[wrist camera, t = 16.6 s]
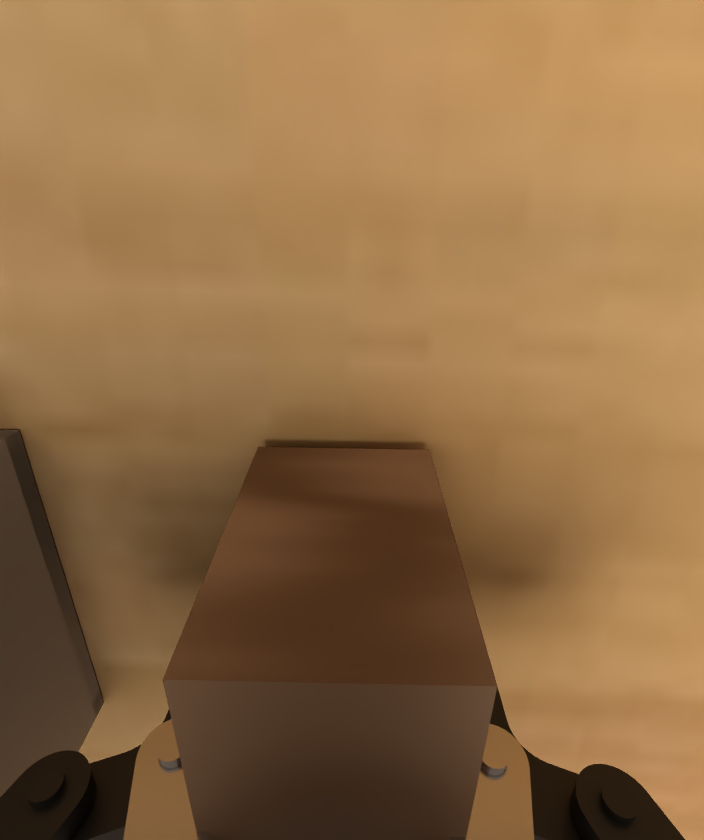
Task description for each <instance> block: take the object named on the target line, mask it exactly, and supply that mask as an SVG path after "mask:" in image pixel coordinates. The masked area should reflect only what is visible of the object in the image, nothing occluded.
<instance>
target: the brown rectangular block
mask: <svg viewBox="0 0 704 840" xmlns="http://www.w3.org/2000/svg"><path fill="white" fill-rule="evenodd" d="M163 683H164V688H165V692H166V697H167V701H168V706H169V710H170V715H171V719H172V724H173V728H174V733H175V737H176V742H177V746H178V751H179V755H180V760H181V764H182V769H183V774H184V778H185V783H186V787H187V792H188V796H189V801H190V805H191V810H192V814H193V819H194V823H195V828H196V831H208V833H209V838H210V840H450V837H466V836H467V831H468V827H469V822H470V817H471V812H472V807H473V802H474V797H475V793H476V788H477V783H478V778H479V773H480V768H481V763H482V759H483V754H484V749H485V744H486V739H487V734H488V729H489V725H490V720H491V715H492V710H493V705H494V700H495V695H496V691H497V684H496V680H495V677H494V673H493V670H492V666H491V663H490V659H489V656H488V652H487V649H486V645H485V642H484V638H483V635H482V632H481V628H480V625H479V621H478V618H477V614H476V611H475V607H474V604H473V600H472V597H471V593H470V590H469V586H468V583H467V579H466V576H465V573H464V569H463V566H462V562H461V559H460V555H459V552H458V548H457V545H456V541H455V538H454V534H453V531H452V527H451V524H450V520H449V517H448V513H447V510H446V507H445V503H444V500H443V496H442V493H441V489H440V486H439V482H438V479H437V475H436V472H435V468H434V465H433V461H432V458H431V454H430V451H429V450H411V449H354V448H297V447H258V449H257V452H256V454H255V457H254V459H253V462H252V464H251V466H250V469H249V471H248V474H247V476H246V479H245V481H244V484H243V486H242V488H241V491H240V493H239V496H238V498H237V501H236V503H235V505H234V508H233V510H232V513H231V515H230V518H229V520H228V522H227V525H226V527H225V530H224V532H223V535H222V537H221V539H220V542H219V544H218V547H217V549H216V552H215V554H214V556H213V559H212V561H211V564H210V566H209V569H208V571H207V573H206V576H205V578H204V581H203V583H202V586H201V588H200V590H199V593H198V595H197V598H196V600H195V603H194V605H193V607H192V610H191V612H190V615H189V617H188V620H187V622H186V624H185V627H184V629H183V632H182V634H181V637H180V639H179V641H178V644H177V646H176V649H175V651H174V654H173V656H172V658H171V661H170V663H169V666H168V668H167V671H166V673H165V675H164V678H163Z"/></svg>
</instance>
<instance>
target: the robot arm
mask: <svg viewBox="0 0 704 840" xmlns="http://www.w3.org/2000/svg"><path fill="white" fill-rule="evenodd" d="M479 625H480V624H479ZM481 632H482V631H481ZM0 840H210V838H209V833H208V831H196V828H195V823H194V819H193V814H192V810H191V805H190V801H189V796H188V792H187V787H186V783H185V778H184V774H183V769H182V764H181V760H180V755H179V751H178V746H177V742H176V737H175V733H174V728H173V724H172V719H171V715H170V710H169V711H168V713H167V715H166V718H165V720H164V721H163V723H162V724H161V725H159V726H158V727H156V728H155V729H154V730H153V731H152V732H151V733H150V734H149V735H148V736H147V737H146V739H145V740H144V741H143V743H142V744H141V745H139V746H138V747H136V748H134V749H132V750H130V751H128V752H125V753H122V754H119V755H116V756H113V757H109V758H106V759H103V760H100V761H97V762H93V763H90V764H89V762H88V760H87V759H86V757H85V756H84V755H82V754H81V753H79V752H76V751H70V750H66V751H59V752H55V753H52V754H50V755H47V756H45V757H43V758H42V759H40V760H38V761H37V762H35V763H34V764H33V765H31V766H30V767H29V768H28V769H26V770H25V771H24V772H23V773H22V774H21V775H20V776H19V778H18V779H17V780H16V781H15V782H14V783H13V784H12V785H11V786H10V787H9V788H8V790H7V791H6V792H5V793H4V794H3V795H2V796H1V797H0ZM450 840H685V839H684V838H683V836H682V835H681V834H680V833H679V831H678V830H677V829H676V828H675V826H674V825H673V824H672V823H671V821H670V820H669V819H668V818H667V816H666V815H665V814H664V813H663V811H662V810H661V809H660V808H659V806H658V805H657V804H656V803H655V801H654V800H653V799H652V798H651V796H650V795H649V794H648V793H647V791H646V790H645V789H644V788H643V787H642V786H641V785H640V784H639V783H638V782H637V781H636V780H635V779H634V778H632V777H631V776H630V775H628V774H627V773H625V772H623V771H622V770H620V769H618V768H615V767H613V766H609V765H605V764H593V765H590V766H588V767H586V768H584V769H583V770H582V771H581V772H580V774H576V773H573V772H571V771H568V770H565V769H562V768H560V767H557V766H554V765H551V764H549V763H546V762H544V761H542V760H540V759H538V758H537V757H535V756H533V755H532V754H531V753H529V752H528V751H527V750H526V749H525V748H524V747H523V746H522V745H521V744H520V743H519V742H518V741H517V739H516V738H515V736H514V735H513V733H512V731H511V729H510V728H509V725H508V722H507V719H506V715H505V712H504V708H503V705H502V701H501V698H500V694H499V691H498V687H497V691H496V695H495V700H494V705H493V710H492V715H491V720H490V725H489V729H488V734H487V739H486V744H485V749H484V754H483V759H482V763H481V768H480V773H479V778H478V783H477V788H476V793H475V797H474V802H473V807H472V812H471V817H470V822H469V827H468V831H467V836H466V837H450Z"/></svg>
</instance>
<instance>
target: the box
mask: <svg viewBox="0 0 704 840" xmlns="http://www.w3.org/2000/svg"><path fill="white" fill-rule="evenodd" d="M103 703H104V702H103V699H102V696H101V692H100V689H99V686H98V683H97V680H96V676H95V673H94V670H93V667H92V663H91V660H90V657H89V654H88V651H87V647H86V644H85V641H84V638H83V635H82V631H81V628H80V625H79V622H78V618H77V615H76V612H75V609H74V606H73V602H72V599H71V596H70V593H69V589H68V586H67V583H66V580H65V577H64V573H63V570H62V567H61V564H60V560H59V557H58V554H57V551H56V548H55V544H54V541H53V538H52V535H51V532H50V528H49V525H48V522H47V519H46V515H45V512H44V509H43V506H42V503H41V499H40V496H39V493H38V490H37V486H36V483H35V480H34V477H33V474H32V470H31V467H30V464H29V461H28V458H27V454H26V451H25V448H24V445H23V441H22V438H21V435H20V432H19V430H3V429H0V797H1V796H2V795H3V794H4V793H5V792H6V791H7V790H8V788H9V787H10V786H11V785H12V784H13V783H14V782H15V781H16V780H17V779H18V778H19V776H20V775H21V774H22V773H23V772H24V771H25V770H26V769H28V768H29V767H30V766H31V765H33V764H34V763H35V762H37V761H38V760H40V759H42V758H43V757H45V756H47V755H50V754H52V753H55V752H59V751H66V750H70V751H76V752H78V751H79V749H80V747H81V746H82V744H83V742H84V740H85V738H86V736H87V734H88V732H89V730H90V728H91V726H92V724H93V722H94V720H95V718H96V716H97V714H98V713H99V711H100V709H101V707H102V705H103Z"/></svg>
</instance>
